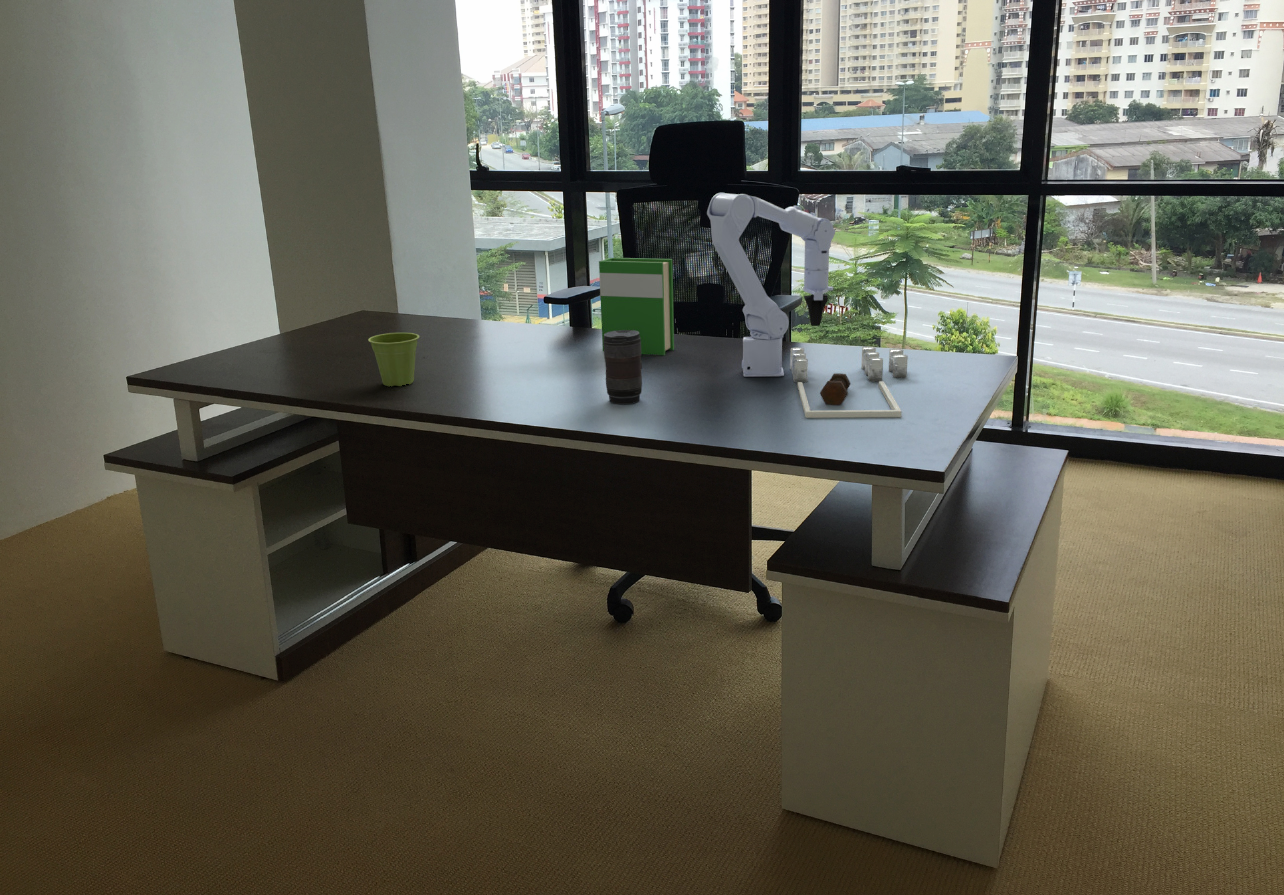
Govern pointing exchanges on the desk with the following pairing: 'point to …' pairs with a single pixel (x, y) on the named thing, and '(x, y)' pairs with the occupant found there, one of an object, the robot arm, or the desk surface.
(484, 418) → the desk surface
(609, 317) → the hardback book
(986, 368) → the desk surface
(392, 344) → the plant pot
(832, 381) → the bolt
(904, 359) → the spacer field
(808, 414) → the tray rim
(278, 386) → the desk surface
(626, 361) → the camera lens
